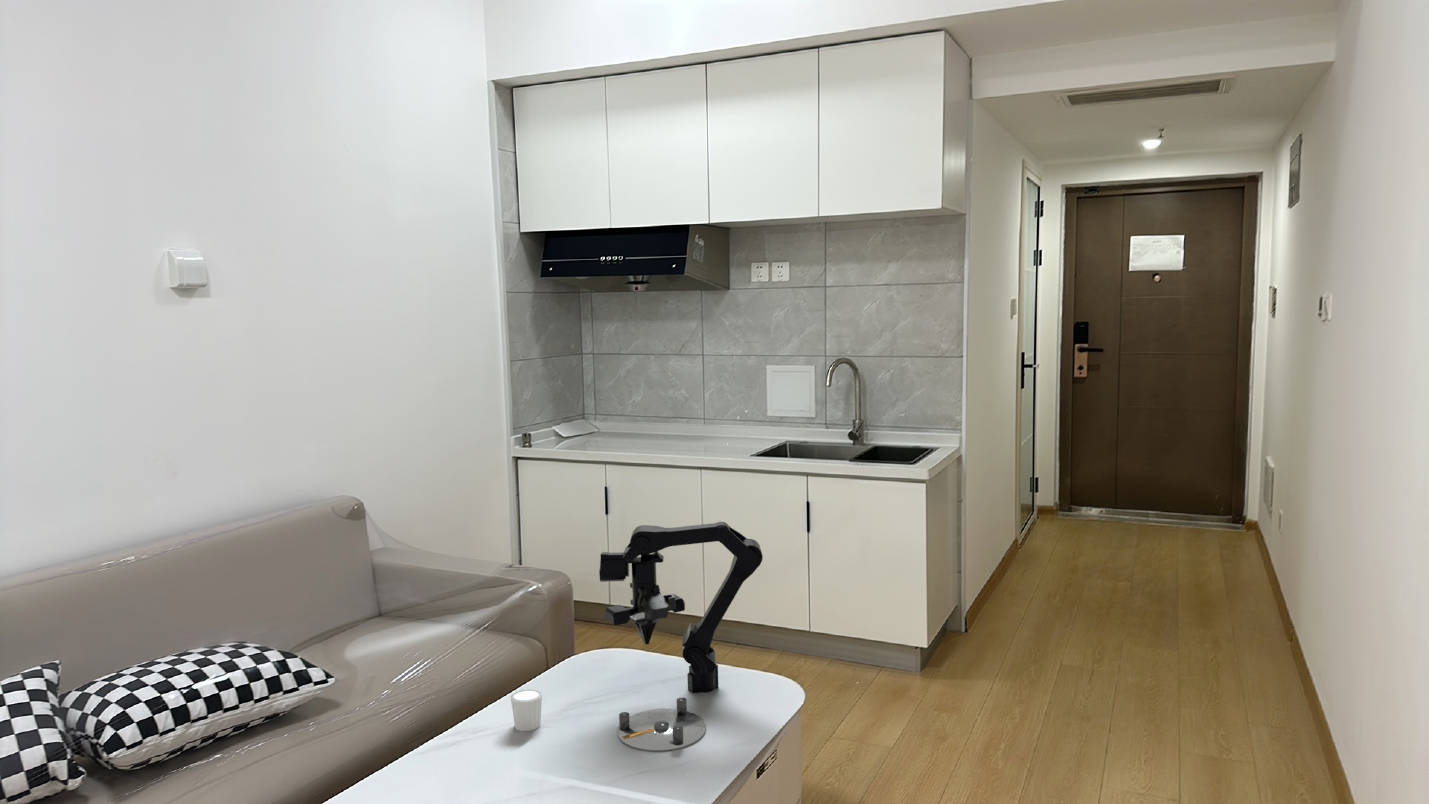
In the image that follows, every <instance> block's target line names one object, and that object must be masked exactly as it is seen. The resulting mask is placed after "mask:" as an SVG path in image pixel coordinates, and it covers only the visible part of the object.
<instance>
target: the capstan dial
mask: <svg viewBox="0 0 1429 804" xmlns="http://www.w3.org/2000/svg"><path fill="white" fill-rule="evenodd" d="M687 702H688V701H687V698H686V697H679V698H676V708H656V709H654V708H653V709H649V710H644V711H640V712H637V713H634V714H631V715H630V713H629V712H627V711H622V712H620V713H619V714H618V718H619V719H618V721H619V723H618V727H617V737H618V739H619V740H620V742H622V744H623V745H626V746H628V747H630V748H632V749H636V750H639V751H644V752H669V751H675V750H680V749H683V748H686V747H689V746H691V745H693V744H695V743H697V742H699V741H700V740H701V739H702V738H703V737H704V735H705V734H706V730H707V729H706V723H705V720H704V719H702V718H701V717H700V716H699V715H697V714H695V713H694V712H693V713H692V712H690V711H688V710H687V709H688V707H687Z"/></svg>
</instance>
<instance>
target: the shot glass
mask: <svg viewBox="0 0 1429 804" xmlns="http://www.w3.org/2000/svg"><path fill="white" fill-rule="evenodd" d="M542 697H543V694H542V691H540V690H538V689H534V688H532V689H531V688H527V689H521V690H518V691H515V692H513V693H512V694H511V695H510V702H511V709H512V717H513V724H514V728H515V729H516V730H517V731H521V732H529V731H533V730H536V729H537V728H539V727H540V726H541V721H542V720H541V719H542V704H543V703H542V701H543V698H542Z"/></svg>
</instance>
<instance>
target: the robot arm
mask: <svg viewBox="0 0 1429 804" xmlns="http://www.w3.org/2000/svg"><path fill="white" fill-rule="evenodd" d="M715 542H719V543H721V544H722V546H724V547H725V548H726V549H727V551H729V552H730V553H731V554H732V555H733V558H732V561H731V565H730V568H729V571H728V573H727V575H726V576H725V578H724V580H723V581H722V583H721V585H720V586H719V588H718V590H717V592H716V594H715V595H714V597H713V598H712V600H711V602H710V603H709V606H708V607H707V609H706V611H705V612H704V614H703V616H702V618H701V619H700V620H699V621H698V622H697V623H696V624H694V623H693V622H690V623H689V624H688V628H687V629H686V631H685V632H684V634H682V638H681V639H682V641H681V642H682V643H681V646H682V658H683V659H684V661H685V662H686V663H687V664H689V666H688V672H687V675H686V676H687V690H689V691H690V692H691V693H692V694H697V693H699V694H700V693H701V694H704V693H711V692H714V691H715V690H716V689H720V687H719V665H718V664H717V661H716V651H715V649H714V648H712V647H711V644H712V642H713V638H714V634H715V632H716V630H717V628H718V627H719V625H720V623H721V621H722V619H723V617H724V616H725V614H726V612H727V611H728V609H729V608H730V606H731V604H732V603H733V600H734V599H735V597H736V596H737V594H738V591H739V590H740V588H741V587H742V585H743V583H744V582H745V581H746V580H747V579H749V578H750V577H751V576H752V575H753V574H754V573H755V571H756V570H757V569H758V568H759V567H760V566H761V564H762V562H763V559H764V557H763V556H764V555H763V552H762V549H761V547H760V546H761V545H760V544H759V543H758V541H757V540H755V539H753V538H747V537H745V536H744V535H743V534H742V533H741V532H739V531H737V530H736V529H734V528H732V527H731V526H729V524H728V523H727V522H725V521H718V522H713V523H705V524H704V523H703V524H694V525H684V526H677V527H664V526H663V527H662V526H659V525H651V524H649V525H647V524H643V525H642V524H641V525H638V526H637V527H635V528H634V529H633V531H632V533H631V536H630V540H629V543H628V545H627V546H625V549H624V551H622V552H608V551H602V552H601V553H600V556H599V557H600V561H599V564H600V565H599V571H598V572H599V574H598V575H599V582H600V583H607V582H611V583H612V582H625V580H626V579H627V577H630V564H631V582H630V583H629V587H630V588H631V589H632V599H630V605H632V606H631V607H624V606H623V605H621V604H617V605H613V606H607V607H606V608H605V610H604V620H605V621H608V622H609V624H611V625H614V626H619V625H623V624H624V625H625V624H628V623H629V622H630V621H632V623H633V624H634V625H635V627H636V630H637V631H638V634H639V635H640V638H641V640H642V642H643V644H644V645H645V646H647V645H649V644H650V641H651V639H652V636H653V633H654V629H655V627H656V625H657V623H658V622H659V621H660V620H662V619H667V618H668V615H669V612H671V611H672V612H673V613H679V612H684V611H685V610H686V603H685V599H683V598H682V597H680V596H678V595H676V594H674V593H669V594H663V595H662V594H661V591H660V590H661V589H660V585H659V584H657V563H659V564H660V563H661V564H662V563H664V558H665V556H664V555H662V554H661V553H660V551H662V550H664V549H667V548H669V547H677V546H685V545H686V546H687V545H695V544H704V543H705V544H706V543H715Z"/></svg>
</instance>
